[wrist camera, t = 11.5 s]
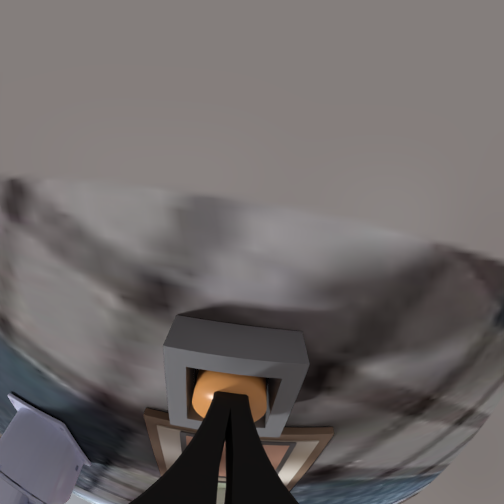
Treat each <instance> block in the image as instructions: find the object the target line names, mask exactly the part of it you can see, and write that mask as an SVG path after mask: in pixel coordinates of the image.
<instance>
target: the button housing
mask: <svg viewBox="0 0 504 504" xmlns="http://www.w3.org/2000/svg"><path fill="white" fill-rule="evenodd" d="M163 354H164V369H165V381H166V392H167V402H168V411H169V419H170V424H172V425H176V426H181V427H186V428H192V429H198V428H199V427H200V425H201V423H202V421H203V419H204V418H203V417H201V416H200V415H199V414H198V413H197V412H196V411H195V409H194V407H193V405H192V398H193V394H194V389H195V388H194V368H196V369H202V370H209V371H215V372H222V373H230V374H237V375H246V376H256V377H266V378H269V382H268V385H267V389H266V398H267V409H266V412H265V414H264V415H263V416H262V417H261V418H260V419H259V420H257V421H255V422H254V423H255V427H256V429H257V432H258V435H259V437H280V435H281V433H282V431H283V428H284V426H285V424H286V422H287V419H288V417H289V415H290V413H291V410H292V408H293V405H294V403H295V401H296V398H297V396H298V393H299V391H300V388H301V386H302V383H303V381H304V378H305V376H306V373H307V370H308V368H309V365H310V363H309V359H308V354H307V350H306V346H305V342H304V338H303V333H302V331H291V330H281V329H271V328H262V327H254V326H246V325H238V324H231V323H224V322H217V321H210V320H204V319H198V318H192V317H186V316H180V315H176V317H175V320H174V322H173V324H172V326H171V329H170V331H169V333H168V335H167V338H166V340H165V342H164V344H163Z"/></svg>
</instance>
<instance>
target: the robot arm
mask: <svg viewBox="0 0 504 504" xmlns="http://www.w3.org/2000/svg"><path fill="white" fill-rule="evenodd" d="M8 397H9V399H10V400H11V402H12V404H13V405H14V407H15V408H16V410H17V411H18V412H17V413H16V415H15V416H14V418H13V420H12V421H11V423H10V424H9V426H8V427H7V429H6V431H5V432H4V434H3V435H2V437H1V439H0V504H64V503H66V502H67V501H68V500H69V498H70V496H71V493H72V491H73V488H74V486H75V483H76V481H77V478H78V476H79V473H80V471H81V468H82V466H83V464H86V465H88V466H91V462H90V461H89V460H88V458H87V457H86V455H85V454H84V453H83V451H82V450H81V448H80V447H79V445H78V444H77V442H76V441H75V439H74V438H73V436H72V435H71V433H70V432H69V430H68V428H67V427H66V425H65V424H64V423H63V422H61V421H59V420H57V419H55V418H53V417H51V416H49V415H47V414H45V413H44V412H42V411H40V410H38V409H36V408H34V407H33V406H31V405H29V404H27V403H26V402H24V401H22V400H21V399H19V398H18V397H16V396H14V395H13V394H11V393H9V394H8ZM224 443H225V451H226V490H225V502H224V504H299V503H298V502H297V501H296V499H295V498H294V497H293V496H292V494H291V493H290V492H289V490H288V489H287V488H286V486H285V485H284V483H283V482H282V480H281V479H280V477H279V476H278V474H277V472H276V471H275V469H274V467H273V465H272V464H271V462H270V460H269V458H268V456H267V454H266V452H265V449H264V447H263V445H262V443H261V440H260V438H259V435H258V432H257V429H256V427H255V423H254V420H253V417H252V413H251V409H250V404H249V396H247V395H246V394H237V393H229V392H221V391H216V392H214V395H213V399H212V402H211V404H210V407H209V409H208V411H207V413H206V415H205V417H204V419H203V421H202V423H201V425H200V427H199V428H198V430H197V432H196V433H195V435H194V436H193V438H192V439H191V441H190V443H189V444H188V445H187V447H186V448H185V450H184V451H183V452H182V454H181V455H180V456H179V457H178V459H177V460H176V461H175V462H174V463H173V465H172V466H171V467H170V468H169V469H168V470H167V471H166V472H165V473H164V474H163V475H162V476H161V477H160V478H159V479H158V480H157V481H156V482H155V483H154V484H153V485H152V486H151V487H149V488H148V489H147V490H146V491H145V492H144V493H142V494H141V495H140V496H138V497H137V498H136V499H134V500H133V501H132V502H130V503H129V504H216V501H217V489H218V477H219V467H220V462H221V457H222V453H223V448H224Z"/></svg>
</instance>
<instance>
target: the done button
mask: <svg viewBox="0 0 504 504" xmlns="http://www.w3.org/2000/svg"><path fill="white" fill-rule="evenodd" d="M216 391H221V392H229V393H237V394H246V395H247V396H249V404H250V409H251V413H252V417H253V420H254V422H255V421H257V420H259V419H260V418H261V417H262V416H263V415H264V414H265V412H266V409H267V398H266V377H256V376H246V375H237V374H230V373H222V372H215V371H209V370H202V369H199V372H198V377H197V381H196V385H195V389H194V394H193V398H192V405H193V407H194V409H195V411H196V412H197V413H198V414H199V415H200V416H201V417H203V418H204V417H205V415H206V413H207V411H208V409H209V407H210V404H211V402H212V399H213V395H214V392H216Z"/></svg>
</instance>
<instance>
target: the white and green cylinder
mask: <svg viewBox="0 0 504 504" xmlns="http://www.w3.org/2000/svg"><path fill="white" fill-rule="evenodd" d="M225 490H226V488H218V489H217V501H216V504H224V502H225Z"/></svg>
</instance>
